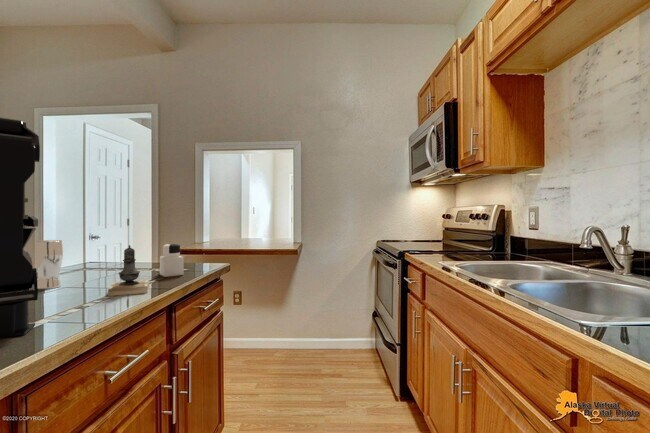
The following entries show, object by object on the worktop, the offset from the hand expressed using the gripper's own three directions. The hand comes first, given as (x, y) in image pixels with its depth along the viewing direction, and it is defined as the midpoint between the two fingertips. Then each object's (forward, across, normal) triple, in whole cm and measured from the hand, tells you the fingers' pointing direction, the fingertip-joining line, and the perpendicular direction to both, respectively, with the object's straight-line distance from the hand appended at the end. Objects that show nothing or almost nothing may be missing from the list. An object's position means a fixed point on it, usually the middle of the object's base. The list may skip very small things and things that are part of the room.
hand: (9, 258), depth 80 cm
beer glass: (+13, -30, 0) cm, 33 cm away
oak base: (+13, -14, +24) cm, 31 cm away
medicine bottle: (+13, -39, +36) cm, 55 cm away
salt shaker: (+11, -14, +24) cm, 30 cm away
